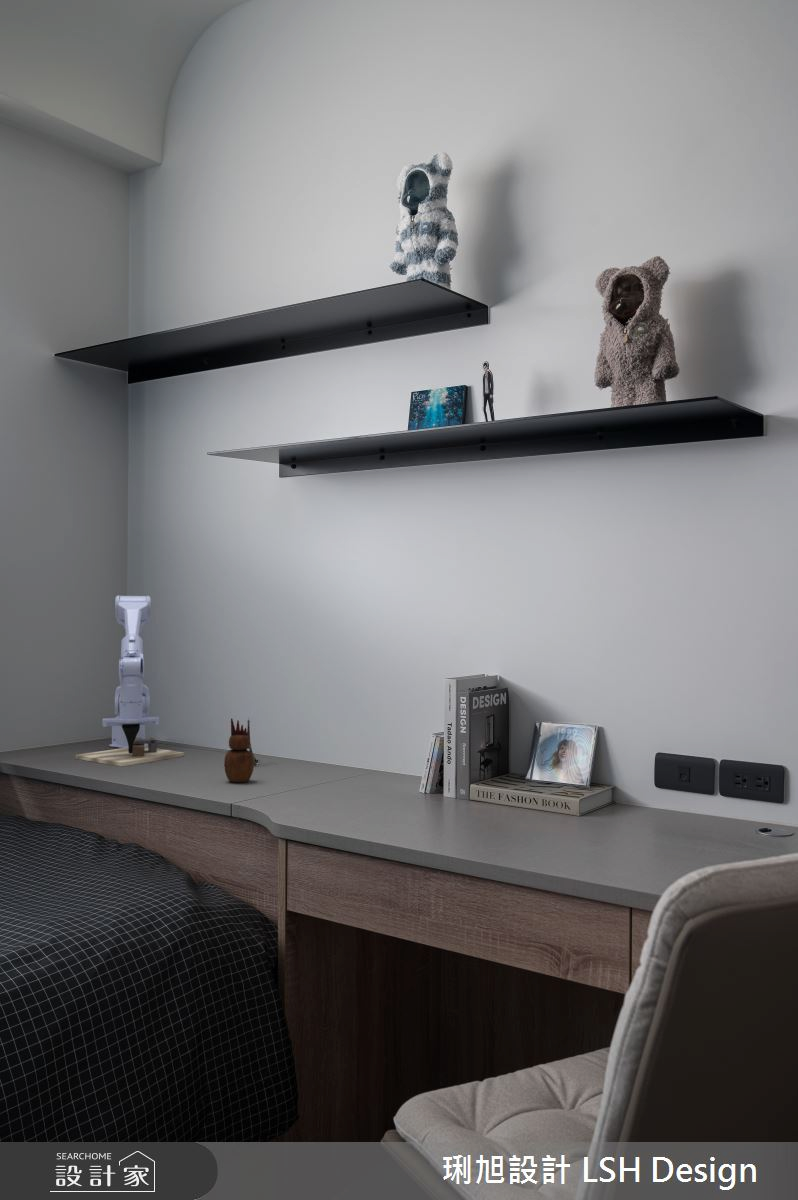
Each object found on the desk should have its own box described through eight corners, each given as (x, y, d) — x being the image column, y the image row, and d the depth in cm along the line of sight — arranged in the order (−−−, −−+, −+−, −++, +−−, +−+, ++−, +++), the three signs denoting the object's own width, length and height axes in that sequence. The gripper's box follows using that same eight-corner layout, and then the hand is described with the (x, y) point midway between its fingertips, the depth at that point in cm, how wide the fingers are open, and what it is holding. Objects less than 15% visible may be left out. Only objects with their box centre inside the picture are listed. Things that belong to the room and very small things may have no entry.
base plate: (75, 758, 258) (75, 754, 258) (139, 749, 275) (139, 745, 275) (121, 766, 247) (121, 762, 247) (184, 756, 264) (184, 752, 264)
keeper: (131, 751, 265) (132, 739, 265) (154, 750, 267) (154, 738, 267) (134, 753, 261) (134, 741, 261) (156, 752, 264) (156, 740, 264)
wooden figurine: (220, 782, 226) (220, 719, 226) (231, 778, 232) (232, 716, 232) (246, 784, 224) (247, 720, 224) (257, 780, 230) (257, 717, 230)
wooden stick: (132, 747, 271) (132, 736, 271) (144, 746, 272) (144, 736, 272) (132, 756, 256) (132, 744, 256) (144, 755, 257) (144, 744, 257)
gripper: (103, 704, 251) (103, 756, 251) (160, 702, 256) (160, 753, 256) (102, 701, 258) (101, 752, 258) (157, 699, 263) (157, 749, 263)
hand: (130, 752), depth 257 cm, fingers closed
